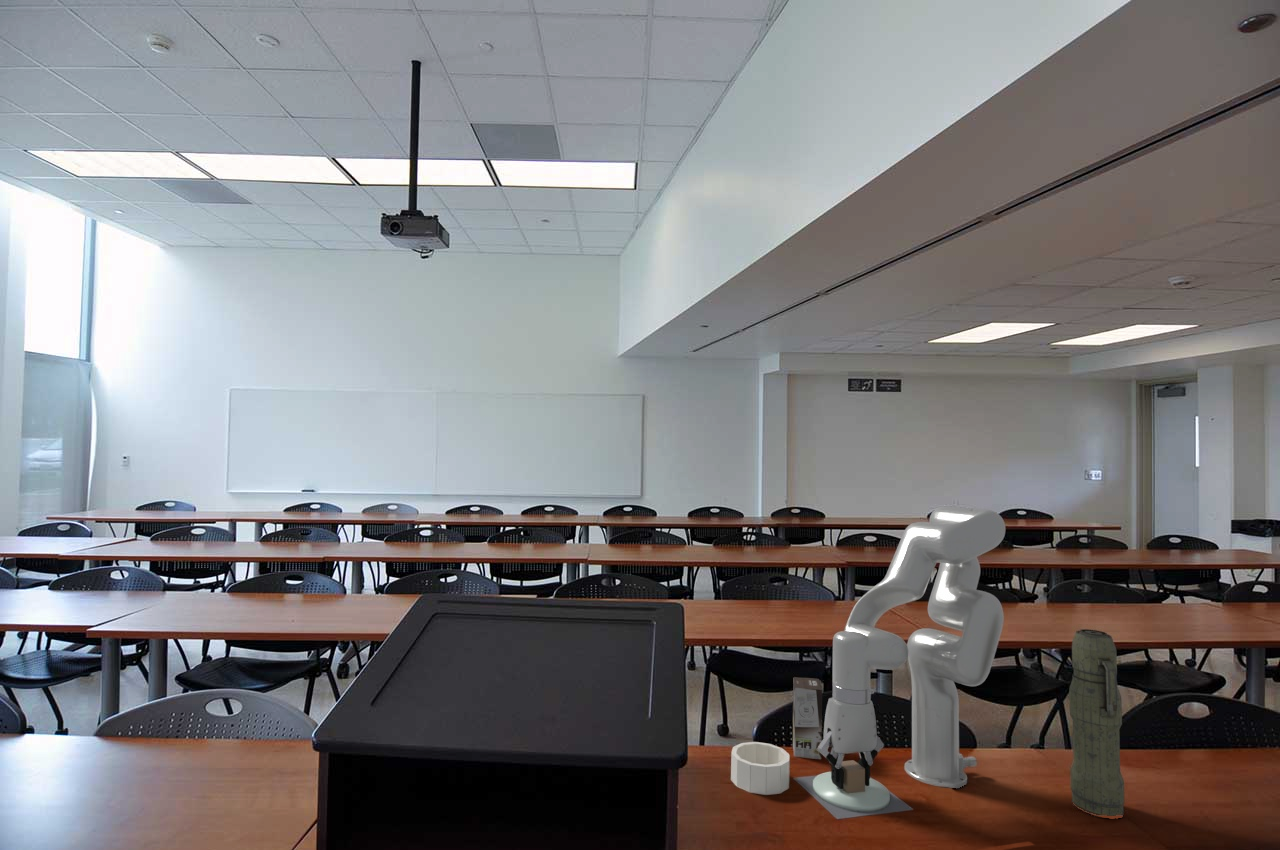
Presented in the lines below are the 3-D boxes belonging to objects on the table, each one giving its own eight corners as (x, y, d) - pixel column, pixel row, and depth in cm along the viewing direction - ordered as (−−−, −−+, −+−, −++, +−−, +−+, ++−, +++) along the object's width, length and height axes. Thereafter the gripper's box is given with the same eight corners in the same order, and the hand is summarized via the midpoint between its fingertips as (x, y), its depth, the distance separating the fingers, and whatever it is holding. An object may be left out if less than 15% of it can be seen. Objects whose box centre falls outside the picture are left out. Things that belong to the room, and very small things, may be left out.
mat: (862, 773, 144) (862, 770, 144) (913, 812, 127) (913, 809, 127) (792, 780, 139) (793, 777, 139) (837, 822, 123) (837, 818, 123)
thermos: (1097, 794, 137) (1093, 625, 140) (1141, 824, 125) (1136, 639, 128) (1056, 793, 137) (1053, 624, 140) (1096, 823, 125) (1092, 638, 128)
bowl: (772, 768, 145) (772, 740, 145) (799, 793, 133) (799, 763, 134) (722, 772, 142) (723, 744, 142) (746, 799, 130) (746, 768, 131)
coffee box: (822, 762, 149) (822, 689, 150) (793, 758, 150) (794, 687, 151) (819, 746, 158) (820, 678, 159) (792, 743, 159) (793, 675, 160)
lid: (860, 773, 142) (860, 747, 143) (905, 807, 128) (905, 778, 128) (799, 779, 138) (799, 753, 139) (839, 815, 124) (839, 785, 124)
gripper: (875, 685, 141) (875, 772, 139) (805, 690, 136) (804, 780, 135) (898, 697, 133) (898, 789, 132) (824, 702, 129) (823, 797, 128)
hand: (850, 783), depth 133 cm, fingers open, 5 cm apart
